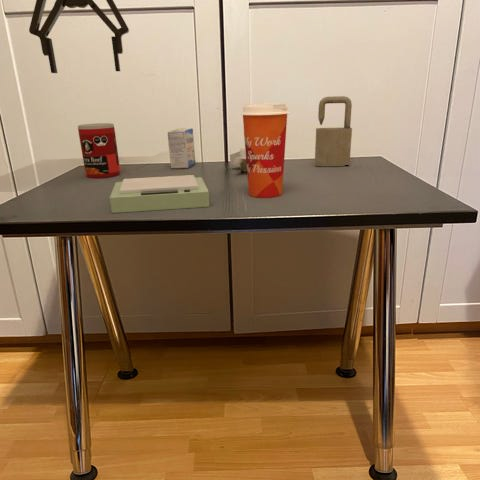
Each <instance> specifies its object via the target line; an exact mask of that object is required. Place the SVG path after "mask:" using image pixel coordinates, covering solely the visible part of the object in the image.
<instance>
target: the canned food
mask: <svg viewBox="0 0 480 480" xmlns="http://www.w3.org/2000/svg"><path fill="white" fill-rule="evenodd" d="M77 130H78V131H77V132H78V137H79V144H80V149H81V155H82V160H83V161H82V162H83V167H84V172H85V175H86V177H87V178H89V179H104V178H113V177H117V176H119V175H120V173H121V167H120V160H119V159H120V158H119V152H118V151H119V150H118V145H117V136H116V135H117V134H116V129H115V124H114V123H112V122H111V123H110V122H99V123H85V124H79V125H77Z"/></svg>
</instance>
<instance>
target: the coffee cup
mask: <svg viewBox="0 0 480 480" xmlns="http://www.w3.org/2000/svg"><path fill="white" fill-rule="evenodd" d="M288 109H289V107H287V104H286V103H255V104H254V103H251V104H243V107H242V112H241V113H240V115H242V120H243V121H242V122H243V137H244V138H243V139H244V148H245V151H246V164H247V172H246V176H247V188H248V196H250V197H252V198H259V199H260V198H261V199H267V198H277V197H280V196H281V195H282V193H283V186H284V185H283V183H284V170H285V154H286V142H287V141H286V139H287V127H288V126H287V125H288V114H291V112H290V111H289V110H288Z"/></svg>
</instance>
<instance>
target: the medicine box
mask: <svg viewBox="0 0 480 480" xmlns="http://www.w3.org/2000/svg"><path fill="white" fill-rule="evenodd" d="M194 137H195V136H194V128H192V127H182V128H181V127H180V128H176V129H172V130H170V131H167V142H168V143H167V144H168V153H169V161H170V168H171V169H179V170H180V169H185V170H186V169H187V170H188V169H190V168H191V167H192V166H193V165H195V164H196V151H195V150H196V149H195V138H194Z"/></svg>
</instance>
